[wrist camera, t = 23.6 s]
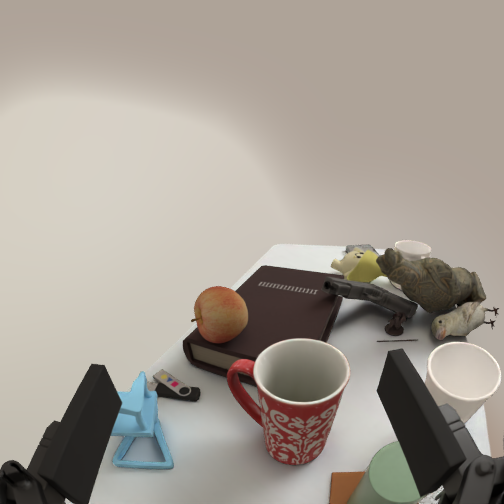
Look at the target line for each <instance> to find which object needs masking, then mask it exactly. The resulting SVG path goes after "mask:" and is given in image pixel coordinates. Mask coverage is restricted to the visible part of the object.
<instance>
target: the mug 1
mask: <svg viewBox="0 0 504 504" xmlns="http://www.w3.org/2000/svg"><path fill="white" fill-rule="evenodd" d="M237 372H243V373H245V374H248V375H249V376H251V377H252V378H253V379H254V380H255V382H256V384H257V389H258V396H259V403H260V407H259V406H258V405H257V404H256V403H255V402H254V400H253V399H252V398H251V397H250V396H249V394H248V393H247V392H246V391H245V389H244V388H243V386H242V385H241V383H240V381H239V378H238V375H237ZM349 377H350V366H349V363H348V361H347V359H346V357H345V356H344V355H343V354H342V352H340V351H339V350H338V349H337V348H335V347H334V346H332V345H330V344H328V343H325V342H322V341H318V340H313V339H303V338H301V339H288V340H284V341H280V342H278V343H275V344H273V345H271V346H269V347H268V348H266V349H265V350H264V351H263V352H262V353H261V354H260V355H259V356H258V358H257V359H256V361H255V362H254V361H251V360H248V359H240V360H237V361H236V362H234V363H233V364H232V366H231V367H230V369H229V370H228V373H227V382H228V386H229V388H230V390H231V392H232V394H233V396H234V397H235V399H236V400H237V401H238V403H239V404H240V405H241V406H242V408H243V409H244V410H245V411H246V412H247V413H248V414H249V415H250V416H251V417H252V418H253V419H254V420H255V421H256V422H257V423H258V424H259V425H260V426H262V427H263V430H264V437H265V445H266V449H267V451H268V452H269V454H270V455H271V456H272V457H273V458H274V459H276V460H277V461H279V462H281V463H284V464H289V465H299V464H304V463H308V462H310V461H312V460H313V459H315V458H316V457H317V456H318V455H319V454H320V453H321V452H322V450H323V448H324V446H325V443H326V440H327V437H328V435H329V432H330V429H331V427H332V424H333V421H334V418H335V415H336V412H337V409H338V406H339V403H340V400H341V397H342V393H343V390H344V388H345V386H346V385H347V383H348V381H349Z"/></svg>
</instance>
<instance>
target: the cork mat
mask: <svg viewBox="0 0 504 504" xmlns="http://www.w3.org/2000/svg"><path fill="white" fill-rule="evenodd" d="M364 473H365V472H335V473H332V480H331V492H330V503H329V504H347V502H348V499H349V498H350V496H351V495H352V493H353V492H354V490H355V488H356V487H357V485H358V483H359V482H360V480H361V478H362V477H363V475H364ZM417 504H418V503H417Z"/></svg>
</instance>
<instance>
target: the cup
mask: <svg viewBox="0 0 504 504" xmlns="http://www.w3.org/2000/svg"><path fill="white" fill-rule="evenodd" d="M500 382H501V371H500V367H499V365H498V363H497V362H496V360H495V359H494V357H493V356H491V355H490V354H489V353H488V352H487V351H485V350H484V349H482V348H480V347H478V346H476V345H473V344H470V343H465V342H450V343H445V344H443V345H440V346H439V347H437V348H435V349H434V350H433V351H432V352H431V354H430V356H429V357H428V361H427V375H426V381H425V385H426V387H427V389H428V390H429V392H430V394H431V395H432V397H433V399H434V400H435V402H436V404H437V405H438V406H441V405H443V404H446V403H447V404H449V405H450V406H451V407H452V408H454V409H455V410H456V412H457V413H458V415H459V416H460V418H461V421H463V423H464V424H465V423H466V422H467V421H468V420H469V419H470V418H471V417H472V416H473V415H474V414H475V412H477V410H478V409H479V408H480V407H481V406H482V405H483V404H484V403H485V402H486V400H487V399H488V398H489V397H490V396H492V395H493V394H494V393H495V392H496V391H497V389H498V388H499V386H500Z"/></svg>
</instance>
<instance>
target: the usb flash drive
mask: <svg viewBox="0 0 504 504" xmlns="http://www.w3.org/2000/svg"><path fill="white" fill-rule="evenodd" d="M153 378H154V380H156V381H157V382H158V383H153V382H147V388H148V391H156V393H157V396H162V397H168V398H175V399H182V400H191V401H197V400H198V398H199V396H200V389H199V388H196V387H188V386H187V385H185V384H184V383H182V382H181V381H179V380H178V379H176V378H175V377H173V376H172V375H170V374H169V373H167V372H166V371H164V370H163V369H162V370H160V371H159V372H158V373H156V374H155V375H153Z"/></svg>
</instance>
